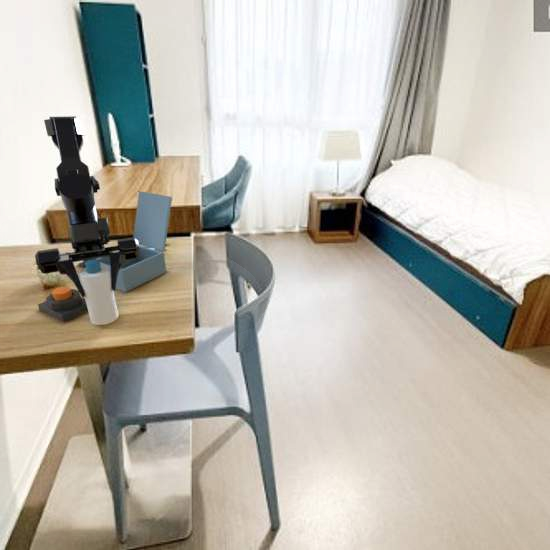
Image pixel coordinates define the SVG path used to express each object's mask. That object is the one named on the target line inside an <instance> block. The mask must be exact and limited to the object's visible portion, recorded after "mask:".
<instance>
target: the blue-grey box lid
mask: <svg viewBox="0 0 550 550" xmlns="http://www.w3.org/2000/svg"><path fill="white" fill-rule="evenodd" d="M172 202H173V197H172V196H170V195H165V194H158V193H152V192H146V191H141V190H139V191H138V197H137V205H136V213H135V220H134V227H133V228H134V229H133V236H132V238H133V237H134V238H135V239H137V240H138V244H139V246H142V247H145V248H148V247H150V248H154V249H155V250H156V249H157V250H156V251H159V250H160V252H161V251H162V252H166V251H165V249H166V244H167V236H168V229H169V222H170V214H171V210H172V209H171V208H172Z"/></svg>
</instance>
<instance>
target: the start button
mask: <svg viewBox="0 0 550 550" xmlns="http://www.w3.org/2000/svg"><path fill="white" fill-rule="evenodd" d="M71 289H72V288H71V287H70V286H59V287H57V288H54V289H53V290H51V291H52V292H51V294H53V297H54V300H55V301H62V300H66V299H68V298H71V297H72V292H71Z"/></svg>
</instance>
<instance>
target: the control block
mask: <svg viewBox="0 0 550 550" xmlns="http://www.w3.org/2000/svg"><path fill="white" fill-rule="evenodd" d="M71 292H72V297H71V298H68V299H66V300H62V301H55V300H54V297H53V294H52V293H50V294H48V295H47V297H45V301H43V302H40V303H38V304H37V307H38V310H39V311H40V312H41V313H43V314H46V315H48V316H50V317H52V318H54V319H57V320H59V321H60V322H63V323H65V322H67V321H69V320H72V319H73V318H75V317H77V316H79V315H81V314H83V313H85V312H88V308H87V304H86V300H85V297H82V296H81V294H80V292H79V291H78V289H76V288H71Z"/></svg>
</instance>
